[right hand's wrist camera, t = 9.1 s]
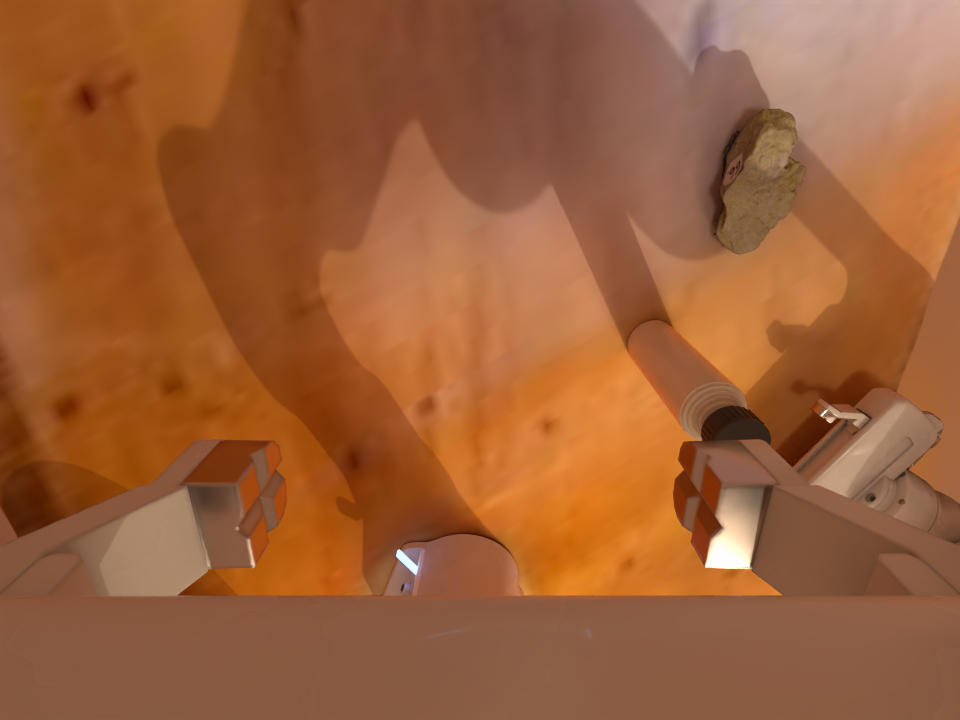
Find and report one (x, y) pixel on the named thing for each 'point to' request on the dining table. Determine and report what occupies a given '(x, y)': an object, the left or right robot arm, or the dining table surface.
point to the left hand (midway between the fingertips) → (785, 439)
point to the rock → (758, 180)
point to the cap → (734, 425)
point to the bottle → (681, 375)
